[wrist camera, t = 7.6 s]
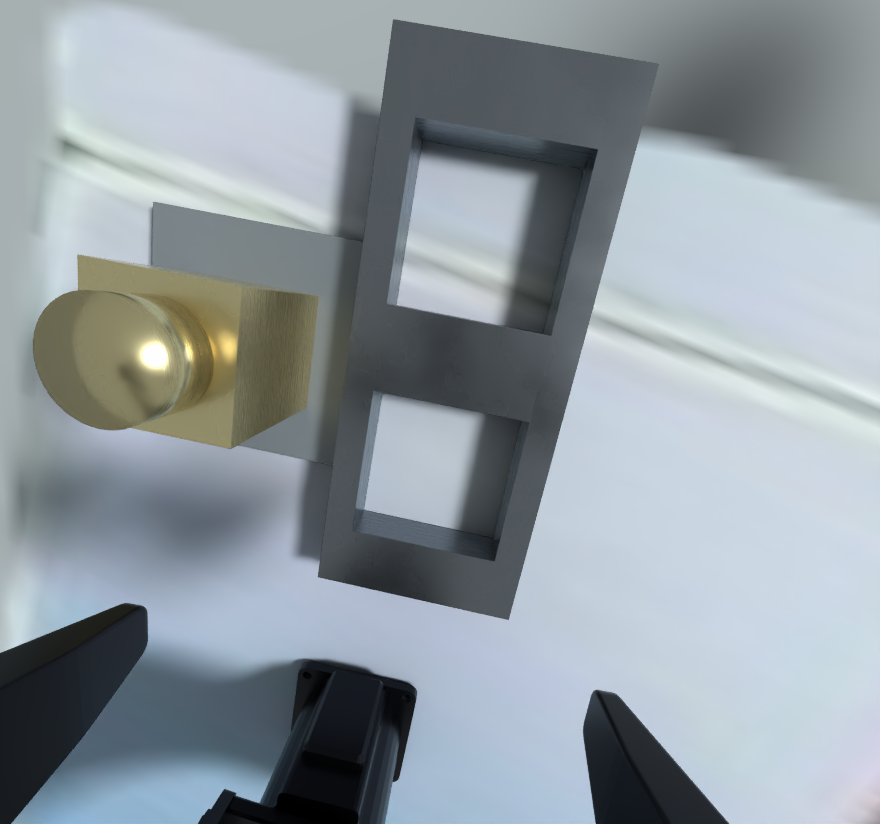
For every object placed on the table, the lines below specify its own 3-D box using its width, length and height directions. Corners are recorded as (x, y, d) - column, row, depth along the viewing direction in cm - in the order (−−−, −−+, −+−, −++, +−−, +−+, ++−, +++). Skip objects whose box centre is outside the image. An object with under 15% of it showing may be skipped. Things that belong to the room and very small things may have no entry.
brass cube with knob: (306, 408, 19) (187, 471, 11) (201, 386, 19) (13, 434, 11) (318, 296, 18) (195, 280, 10) (207, 274, 18) (1, 242, 10)
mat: (355, 465, 20) (351, 469, 19) (158, 423, 20) (148, 426, 20) (387, 248, 18) (384, 245, 17) (163, 205, 18) (153, 201, 17)
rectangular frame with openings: (505, 591, 21) (508, 619, 19) (332, 553, 21) (317, 577, 19) (636, 95, 16) (659, 63, 14) (403, 55, 16) (393, 19, 14)
